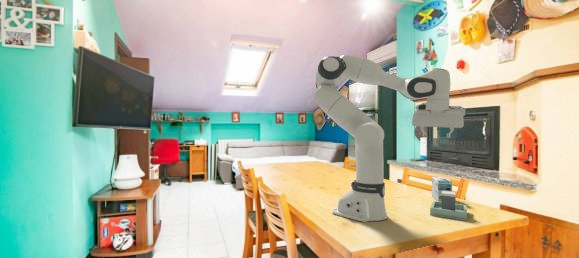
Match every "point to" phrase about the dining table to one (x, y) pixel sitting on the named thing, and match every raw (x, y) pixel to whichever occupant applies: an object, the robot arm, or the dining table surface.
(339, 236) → the dining table surface
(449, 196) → the gray rectangular block
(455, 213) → the tray
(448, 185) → the light bulb box
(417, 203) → the dining table surface
